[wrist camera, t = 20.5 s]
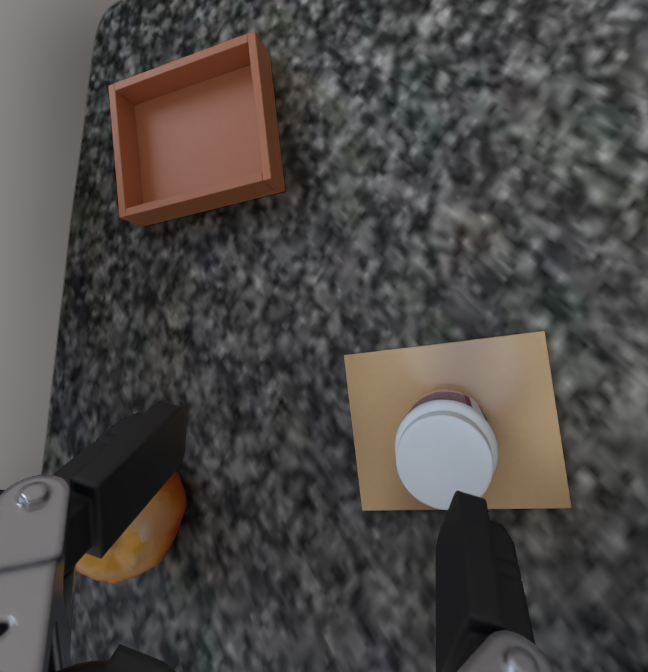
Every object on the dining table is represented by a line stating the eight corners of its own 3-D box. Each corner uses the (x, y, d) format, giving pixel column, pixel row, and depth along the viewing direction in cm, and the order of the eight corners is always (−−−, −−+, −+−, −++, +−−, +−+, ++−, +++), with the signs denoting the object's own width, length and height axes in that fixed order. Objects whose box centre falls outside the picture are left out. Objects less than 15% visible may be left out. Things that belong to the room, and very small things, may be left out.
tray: (142, 226, 34) (119, 218, 31) (131, 102, 34) (107, 85, 32) (285, 191, 30) (271, 178, 28) (270, 54, 31) (255, 30, 29)
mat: (363, 508, 28) (362, 511, 27) (345, 355, 29) (343, 355, 28) (570, 506, 24) (571, 508, 24) (543, 331, 25) (544, 330, 25)
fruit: (104, 416, 32) (62, 468, 25) (205, 449, 34) (195, 507, 27) (66, 509, 33) (14, 587, 26) (166, 536, 35) (146, 616, 28)
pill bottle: (392, 431, 27) (364, 466, 19) (440, 372, 26) (432, 382, 18) (454, 484, 26) (453, 544, 18) (506, 424, 25) (529, 459, 17)
